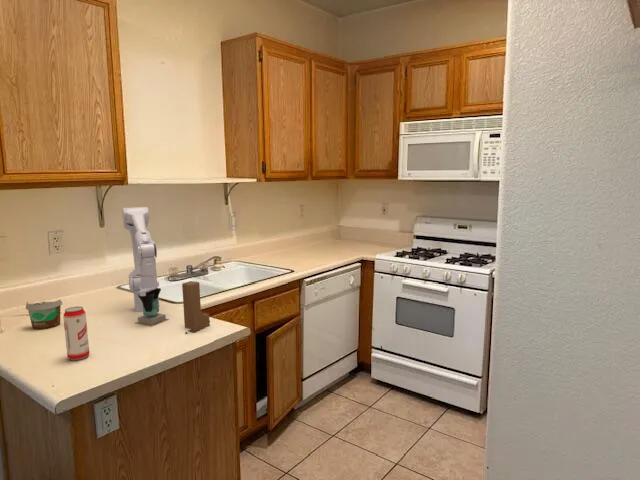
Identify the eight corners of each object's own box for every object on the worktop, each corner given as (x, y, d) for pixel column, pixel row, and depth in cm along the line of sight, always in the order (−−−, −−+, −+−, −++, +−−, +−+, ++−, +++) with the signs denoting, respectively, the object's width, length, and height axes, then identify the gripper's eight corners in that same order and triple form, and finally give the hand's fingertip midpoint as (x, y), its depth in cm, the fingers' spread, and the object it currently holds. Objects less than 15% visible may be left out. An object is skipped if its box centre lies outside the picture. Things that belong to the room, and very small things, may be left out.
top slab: (152, 317, 179) (152, 312, 179) (165, 319, 176) (165, 314, 176) (138, 322, 173) (137, 317, 172) (151, 325, 170) (151, 319, 169)
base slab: (152, 321, 181) (152, 316, 180) (169, 324, 177) (169, 319, 176) (134, 328, 173) (134, 323, 172) (151, 331, 169) (151, 326, 168)
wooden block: (200, 323, 175) (198, 278, 172) (210, 325, 173) (207, 279, 170) (184, 331, 167) (181, 283, 164) (194, 332, 165) (191, 284, 162)
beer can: (93, 353, 147) (88, 305, 145) (84, 361, 141) (79, 311, 139) (73, 353, 147) (68, 306, 145) (63, 361, 141) (58, 312, 138)
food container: (22, 332, 168) (19, 306, 166) (28, 327, 174) (25, 301, 172) (60, 329, 171) (57, 303, 169) (64, 323, 177) (61, 298, 175)
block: (147, 311, 176) (146, 298, 175) (159, 311, 176) (158, 298, 175) (143, 315, 172) (142, 302, 171) (155, 314, 172) (154, 302, 171)
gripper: (145, 270, 179) (147, 304, 181) (130, 279, 164) (132, 315, 166) (163, 270, 179) (165, 303, 181) (149, 279, 164) (152, 315, 166)
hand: (151, 309), depth 174 cm, fingers closed on block, 4 cm apart
